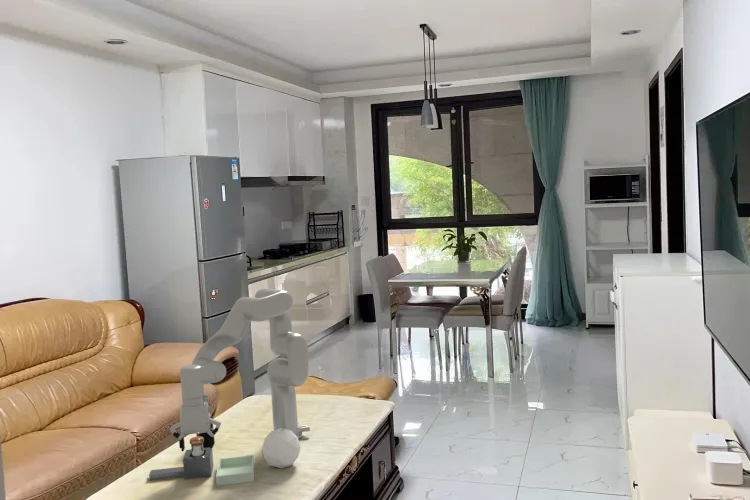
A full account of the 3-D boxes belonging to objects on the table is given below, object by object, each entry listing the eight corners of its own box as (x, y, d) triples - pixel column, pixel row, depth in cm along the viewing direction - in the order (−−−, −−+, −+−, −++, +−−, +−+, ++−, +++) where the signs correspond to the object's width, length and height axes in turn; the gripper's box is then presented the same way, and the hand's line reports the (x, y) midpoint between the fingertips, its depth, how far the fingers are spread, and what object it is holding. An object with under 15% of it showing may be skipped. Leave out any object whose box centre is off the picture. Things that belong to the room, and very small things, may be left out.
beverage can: (210, 449, 253) (207, 419, 251) (194, 449, 254) (192, 418, 253) (217, 442, 259) (215, 413, 258) (202, 442, 260) (199, 412, 259)
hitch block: (213, 465, 237) (212, 447, 236) (211, 476, 228) (209, 456, 227) (152, 472, 234) (151, 453, 233) (148, 483, 225) (146, 463, 224)
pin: (206, 469, 235) (204, 435, 233) (205, 474, 230) (203, 440, 229) (193, 470, 234) (190, 437, 233) (191, 476, 229) (188, 442, 228)
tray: (219, 467, 235) (219, 458, 235) (254, 463, 237) (254, 454, 237) (216, 485, 220) (215, 476, 220) (253, 481, 222) (252, 472, 222)
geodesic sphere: (267, 439, 244) (261, 418, 235) (304, 438, 244) (299, 417, 235) (263, 475, 234) (256, 455, 224) (301, 474, 233) (296, 453, 224)
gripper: (219, 395, 234) (223, 441, 236) (169, 399, 232) (173, 447, 233) (218, 401, 227) (221, 449, 229) (166, 406, 224) (170, 455, 226)
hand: (197, 448), depth 231 cm, fingers open, 9 cm apart
